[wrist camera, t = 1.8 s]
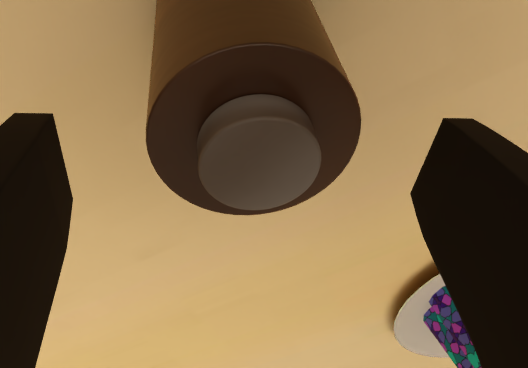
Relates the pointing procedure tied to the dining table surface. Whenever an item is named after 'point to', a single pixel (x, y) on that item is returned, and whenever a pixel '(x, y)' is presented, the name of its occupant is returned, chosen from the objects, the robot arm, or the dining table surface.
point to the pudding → (434, 326)
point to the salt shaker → (247, 104)
